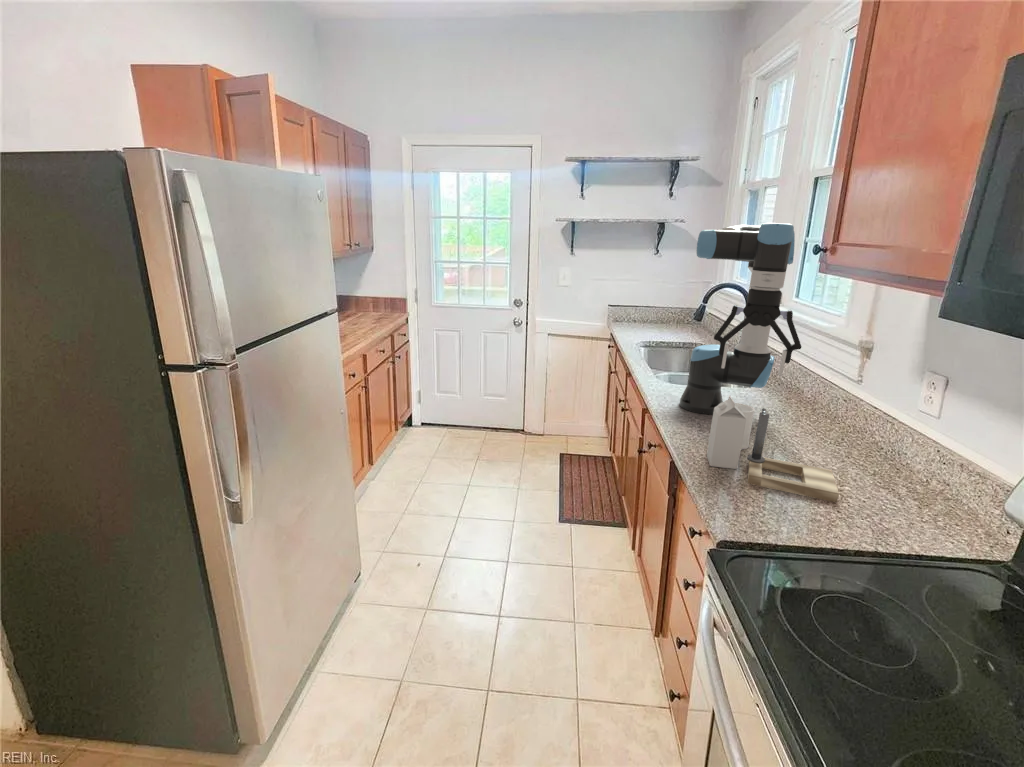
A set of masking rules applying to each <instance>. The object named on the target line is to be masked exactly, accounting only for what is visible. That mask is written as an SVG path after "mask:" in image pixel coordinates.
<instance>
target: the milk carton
mask: <svg viewBox="0 0 1024 767" xmlns="http://www.w3.org/2000/svg"><path fill="white" fill-rule="evenodd" d="M735 403H736V402H735V401H734V399H733V398H732V396H731V395H729V396H728V399H726V400H723V402H722V403H720V404H719V405H718V406H716V407H715V408H714V412H713V414H712V418H711V426H710V432H709V437H708V444H707V452H706V458H707V461H708V463H709V466H710V467H716V468H725V469H731V470H738V467H739V462H740V455H741V450H742V449H741V446H742V440H743V435H744V429H745V424H746V418H745V416H744V415H743V413H742V411H741V410H740V409H739V408H738V407H737V406H736V405H735Z"/></svg>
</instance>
